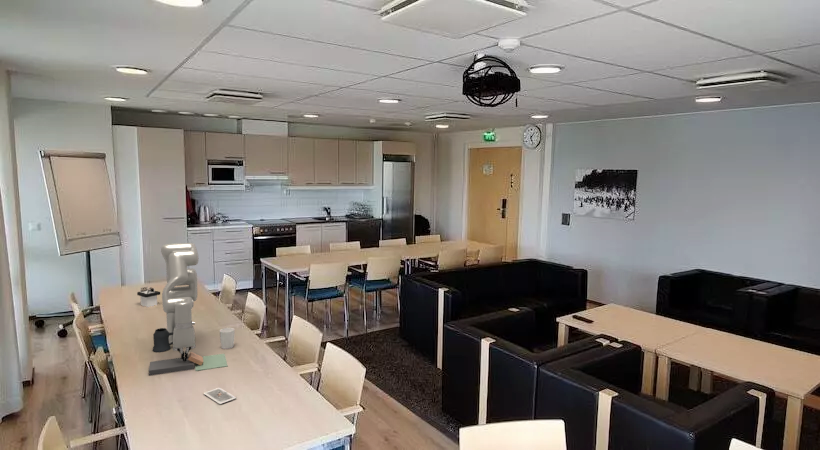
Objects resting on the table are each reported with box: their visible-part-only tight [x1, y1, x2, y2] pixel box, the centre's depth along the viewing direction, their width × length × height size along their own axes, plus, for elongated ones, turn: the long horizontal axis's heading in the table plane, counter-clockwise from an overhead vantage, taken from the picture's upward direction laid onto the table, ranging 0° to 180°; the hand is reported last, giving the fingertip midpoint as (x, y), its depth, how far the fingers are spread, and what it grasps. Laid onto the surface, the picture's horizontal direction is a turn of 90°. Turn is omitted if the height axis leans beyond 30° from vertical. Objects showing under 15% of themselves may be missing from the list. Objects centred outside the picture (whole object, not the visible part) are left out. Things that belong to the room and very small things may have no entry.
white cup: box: [219, 327, 235, 350], centre depth 270 cm, size 8×8×10 cm
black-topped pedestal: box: [137, 286, 161, 308], centre depth 349 cm, size 28×26×13 cm
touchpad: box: [202, 387, 237, 405], centre depth 211 cm, size 8×15×2 cm, turn 50°
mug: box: [151, 327, 173, 353], centre depth 265 cm, size 12×9×11 cm
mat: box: [194, 353, 228, 372], centre depth 248 cm, size 18×15×1 cm
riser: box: [148, 356, 195, 376], centre depth 240 cm, size 12×20×2 cm, turn 116°
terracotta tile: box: [188, 351, 203, 365], centre depth 245 cm, size 7×7×2 cm
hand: (184, 360), depth 243 cm, fingers closed
